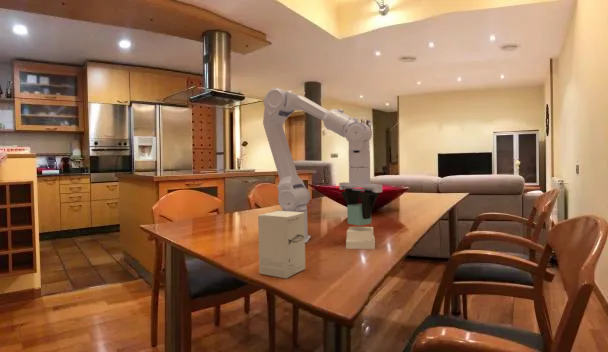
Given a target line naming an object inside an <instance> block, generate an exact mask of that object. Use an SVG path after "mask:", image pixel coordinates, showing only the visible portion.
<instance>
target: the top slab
mask: <svg viewBox="0 0 608 352" xmlns="http://www.w3.org/2000/svg"><path fill="white" fill-rule="evenodd" d="M373 236H374V227H373V226H349V227H348V228H347V230H346V239H347V241H372V239H373Z"/></svg>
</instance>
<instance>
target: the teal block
mask: <svg viewBox="0 0 608 352" xmlns="http://www.w3.org/2000/svg"><path fill="white" fill-rule="evenodd" d="M346 206H347V207H346V209H347V224H349V225H354V226H358V227H361V226H364V225H370V224H371V225H372V217H371V218H370V219H363V214H362V204H361V203H358V204H352V205H347V204H346Z"/></svg>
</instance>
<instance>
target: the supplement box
mask: <svg viewBox="0 0 608 352" xmlns="http://www.w3.org/2000/svg"><path fill="white" fill-rule="evenodd" d="M257 219H258V221H257V222H258V223H257V227H258V229H257V230H258V261H259V262H258V267H259V272H258V273H259V274H261V275H264V276H271V277H275V278H276V277H277V278H281V279H285V280H287V279H288V278H290V277H292V276H293V275H296V274H298V273H300V272H302V271H304V270H306V243H305V225H304V224H305V223H304V212H291V211H277V210H276V211H272V212H265V213H262V214H258V215H257Z"/></svg>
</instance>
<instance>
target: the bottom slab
mask: <svg viewBox="0 0 608 352" xmlns="http://www.w3.org/2000/svg"><path fill="white" fill-rule="evenodd" d="M345 249H346V250H349V249H352V250H353V249H354V250H355V249H356V250H376V240H375V235H373V239H372V241H347V238H346V239H345Z"/></svg>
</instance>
